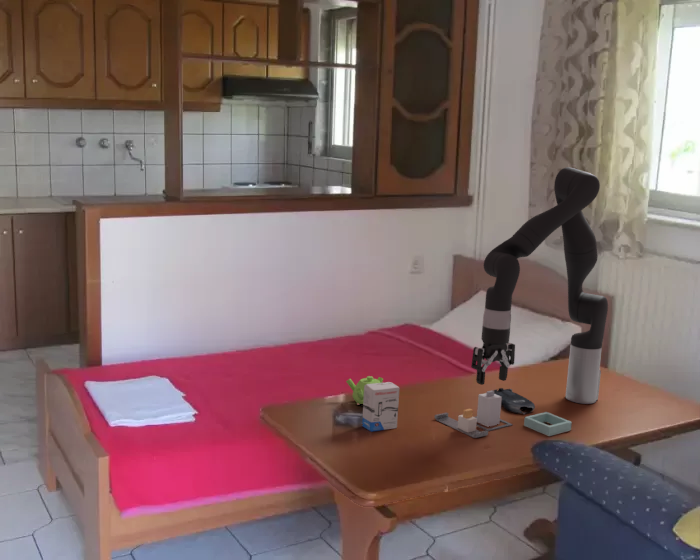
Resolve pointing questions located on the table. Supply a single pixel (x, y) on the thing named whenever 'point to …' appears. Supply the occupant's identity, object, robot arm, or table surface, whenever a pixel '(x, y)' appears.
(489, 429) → the grey square frame
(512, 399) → the electronic device
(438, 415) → the latch rail
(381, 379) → the teapot
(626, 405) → the table surface
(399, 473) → the table surface
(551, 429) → the teal square tray
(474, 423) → the latch tab
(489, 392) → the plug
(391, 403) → the ink box
